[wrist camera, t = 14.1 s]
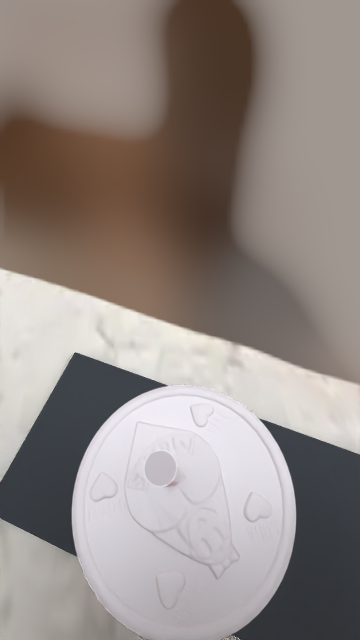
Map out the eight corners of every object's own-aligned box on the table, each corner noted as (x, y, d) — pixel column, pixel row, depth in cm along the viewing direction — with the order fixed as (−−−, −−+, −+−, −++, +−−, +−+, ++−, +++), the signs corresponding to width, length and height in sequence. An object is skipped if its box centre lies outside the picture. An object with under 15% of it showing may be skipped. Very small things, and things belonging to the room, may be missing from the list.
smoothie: (196, 408, 19) (213, 269, 7) (267, 505, 17) (495, 560, 4) (106, 474, 18) (-84, 449, 5) (170, 593, 15) (95, 1097, 3)
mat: (375, 461, 18) (379, 461, 18) (360, 696, 13) (365, 701, 13) (76, 354, 22) (74, 351, 21) (-12, 509, 17) (-16, 510, 17)
